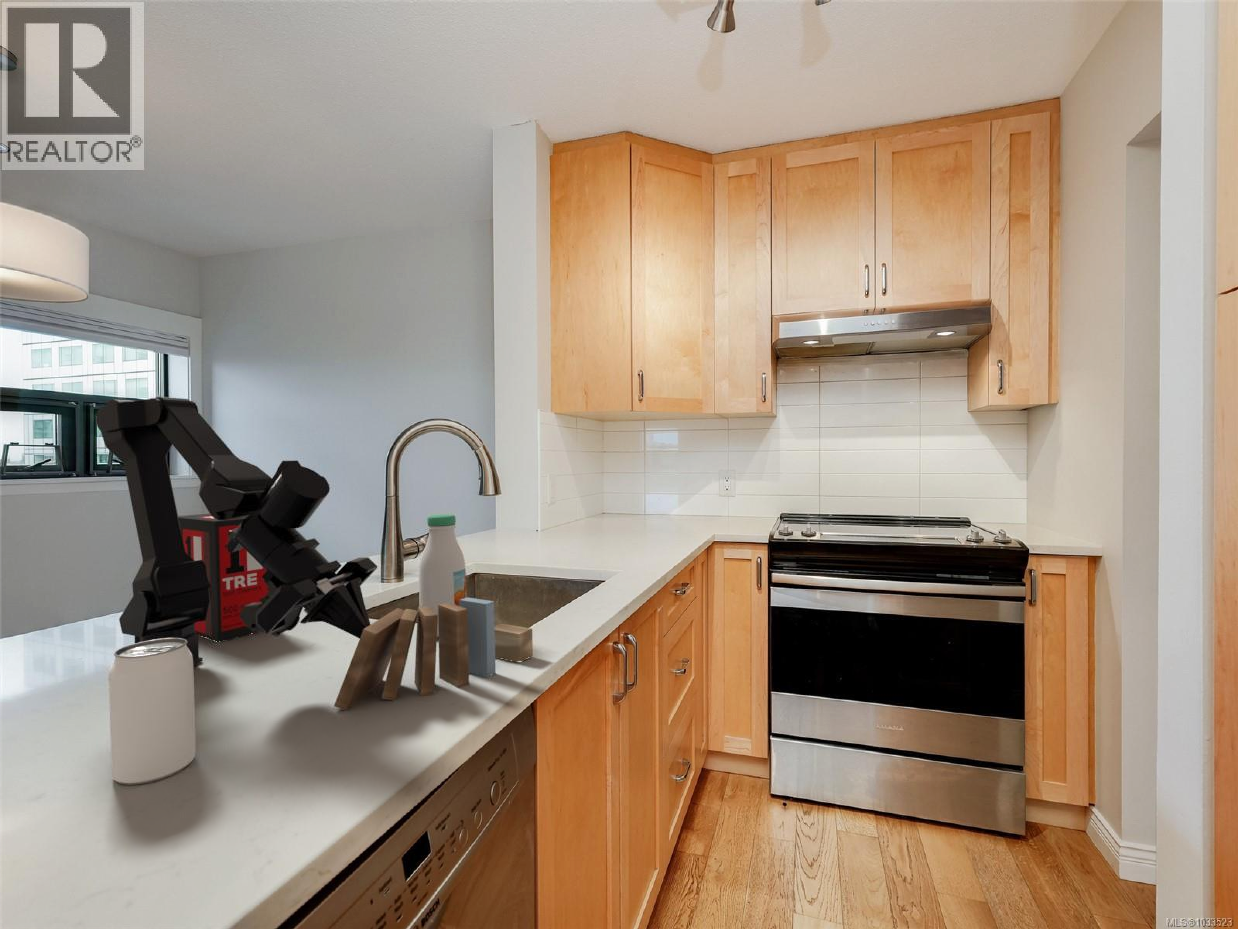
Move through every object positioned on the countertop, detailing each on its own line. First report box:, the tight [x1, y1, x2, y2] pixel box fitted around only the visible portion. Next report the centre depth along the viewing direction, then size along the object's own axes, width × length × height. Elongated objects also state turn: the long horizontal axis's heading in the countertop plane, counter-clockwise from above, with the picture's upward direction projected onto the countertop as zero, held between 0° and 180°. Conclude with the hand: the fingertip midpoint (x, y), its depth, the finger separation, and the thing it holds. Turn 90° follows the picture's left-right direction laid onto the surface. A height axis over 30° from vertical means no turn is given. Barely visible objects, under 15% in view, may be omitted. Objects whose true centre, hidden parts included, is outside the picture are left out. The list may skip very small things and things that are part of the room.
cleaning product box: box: [178, 513, 269, 643], centre depth 105 cm, size 16×9×20 cm, turn 58°
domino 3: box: [414, 606, 438, 697], centre depth 77 cm, size 2×5×10 cm, turn 28°
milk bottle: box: [418, 514, 467, 638], centre depth 101 cm, size 8×8×20 cm
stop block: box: [495, 623, 534, 662], centre depth 89 cm, size 3×6×4 cm, turn 60°
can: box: [108, 638, 196, 786], centre depth 58 cm, size 6×6×12 cm
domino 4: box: [438, 603, 470, 689], centre depth 79 cm, size 2×5×10 cm, turn 44°
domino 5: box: [459, 596, 496, 678], centre depth 82 cm, size 2×5×10 cm, turn 60°
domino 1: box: [333, 607, 405, 712], centre depth 75 cm, size 2×10×10 cm, turn 178°
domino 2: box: [381, 608, 418, 701], centre depth 76 cm, size 2×5×10 cm, turn 13°
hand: (369, 637), depth 75 cm, fingers closed
